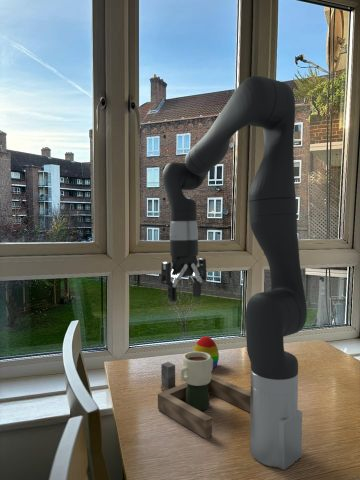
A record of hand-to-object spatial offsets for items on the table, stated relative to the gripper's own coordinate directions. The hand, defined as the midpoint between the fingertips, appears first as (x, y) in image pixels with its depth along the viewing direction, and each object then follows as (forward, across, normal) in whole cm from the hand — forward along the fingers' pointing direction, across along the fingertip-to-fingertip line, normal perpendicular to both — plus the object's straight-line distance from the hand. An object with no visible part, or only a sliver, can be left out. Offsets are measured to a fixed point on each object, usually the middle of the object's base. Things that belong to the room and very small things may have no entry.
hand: (185, 298), depth 103 cm
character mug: (+26, -2, -6) cm, 27 cm away
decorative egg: (+26, +17, +10) cm, 33 cm away
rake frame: (+26, -2, -6) cm, 27 cm away
